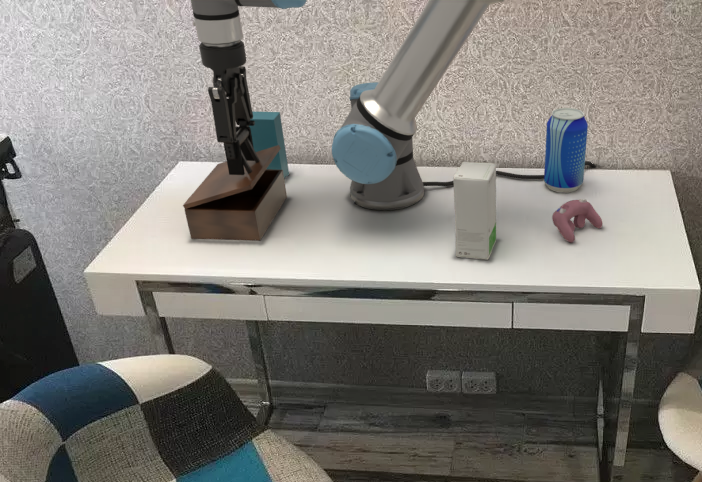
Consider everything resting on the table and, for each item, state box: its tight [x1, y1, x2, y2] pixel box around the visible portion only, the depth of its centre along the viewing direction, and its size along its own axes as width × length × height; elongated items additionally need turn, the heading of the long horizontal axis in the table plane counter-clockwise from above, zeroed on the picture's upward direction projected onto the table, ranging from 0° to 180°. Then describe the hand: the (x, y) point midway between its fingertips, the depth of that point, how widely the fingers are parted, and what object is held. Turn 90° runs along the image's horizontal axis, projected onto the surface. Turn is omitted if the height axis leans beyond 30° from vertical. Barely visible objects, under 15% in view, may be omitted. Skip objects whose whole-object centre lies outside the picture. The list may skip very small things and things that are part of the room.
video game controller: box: [551, 198, 603, 244], centre depth 151 cm, size 10×5×7 cm, turn 135°
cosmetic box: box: [452, 161, 497, 260], centre depth 142 cm, size 8×7×16 cm
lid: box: [182, 127, 281, 209], centre depth 149 cm, size 14×19×8 cm
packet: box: [249, 110, 290, 179], centre depth 169 cm, size 8×5×14 cm, turn 87°
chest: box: [184, 169, 288, 242], centre depth 154 cm, size 13×19×7 cm
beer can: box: [543, 107, 589, 194], centre depth 165 cm, size 8×8×16 cm
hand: (242, 166), depth 150 cm, fingers closed on lid, 6 cm apart
